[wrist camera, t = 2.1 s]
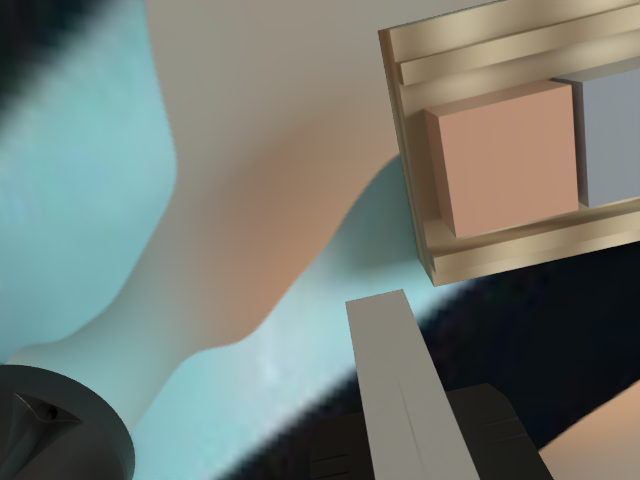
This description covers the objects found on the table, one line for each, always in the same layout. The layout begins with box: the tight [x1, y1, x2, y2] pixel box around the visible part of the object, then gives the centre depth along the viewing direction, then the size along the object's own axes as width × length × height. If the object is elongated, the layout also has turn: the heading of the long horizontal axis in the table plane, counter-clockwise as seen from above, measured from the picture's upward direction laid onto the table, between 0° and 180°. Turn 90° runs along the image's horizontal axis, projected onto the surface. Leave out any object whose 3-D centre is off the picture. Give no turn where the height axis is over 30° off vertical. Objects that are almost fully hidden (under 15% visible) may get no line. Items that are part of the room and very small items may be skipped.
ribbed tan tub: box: [378, 0, 640, 287], centre depth 28 cm, size 14×14×6 cm
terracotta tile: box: [424, 80, 579, 238], centre depth 26 cm, size 6×6×3 cm
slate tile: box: [552, 56, 640, 208], centre depth 26 cm, size 6×6×3 cm
